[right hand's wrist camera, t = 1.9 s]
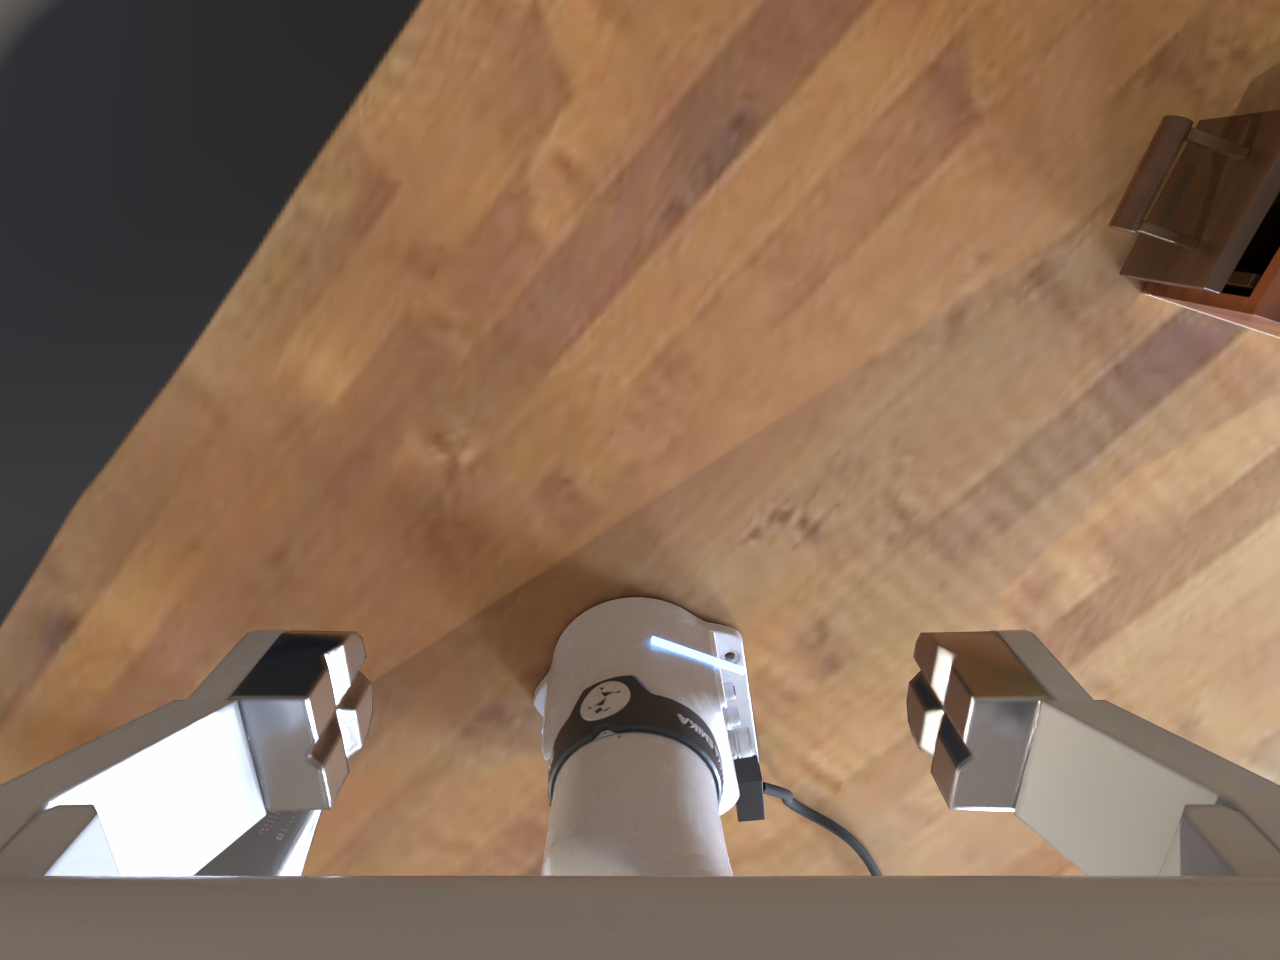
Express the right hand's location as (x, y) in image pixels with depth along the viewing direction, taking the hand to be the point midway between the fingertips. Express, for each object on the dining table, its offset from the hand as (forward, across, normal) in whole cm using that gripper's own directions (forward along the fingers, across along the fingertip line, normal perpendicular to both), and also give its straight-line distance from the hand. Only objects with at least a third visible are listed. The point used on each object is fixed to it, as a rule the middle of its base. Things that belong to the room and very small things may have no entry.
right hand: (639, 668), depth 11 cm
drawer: (+41, +38, +5) cm, 57 cm away
